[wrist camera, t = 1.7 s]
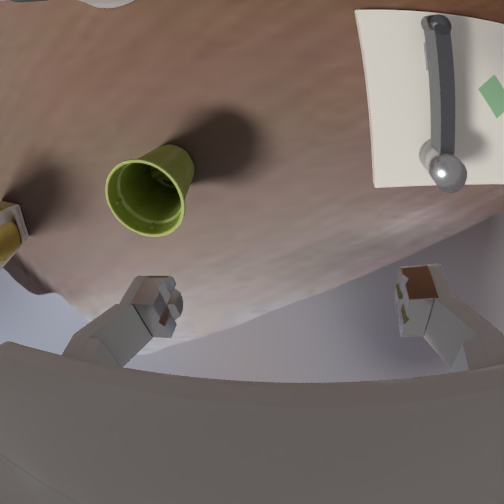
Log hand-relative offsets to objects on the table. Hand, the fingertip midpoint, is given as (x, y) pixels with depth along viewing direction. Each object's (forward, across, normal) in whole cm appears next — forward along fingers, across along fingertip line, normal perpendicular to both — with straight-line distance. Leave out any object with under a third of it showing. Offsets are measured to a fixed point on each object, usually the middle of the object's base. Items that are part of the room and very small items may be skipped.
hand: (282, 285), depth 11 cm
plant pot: (+27, +17, +5) cm, 32 cm away
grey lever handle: (+25, -14, -2) cm, 29 cm away
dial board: (+27, -16, -1) cm, 31 cm away
